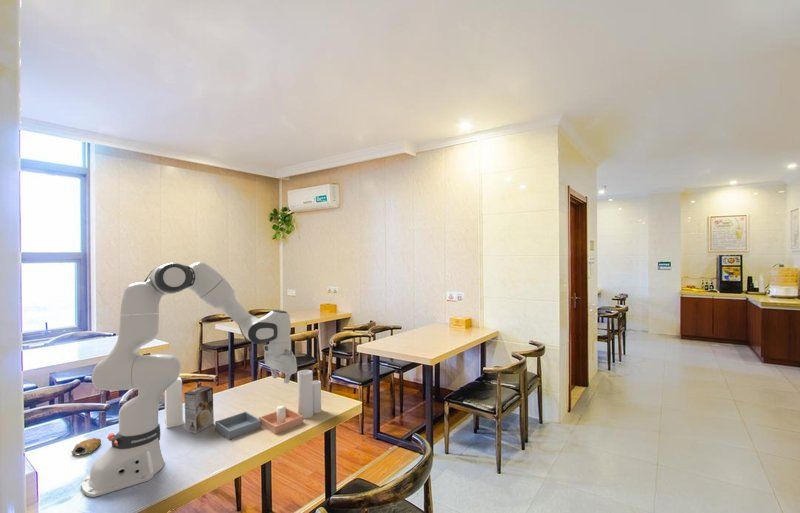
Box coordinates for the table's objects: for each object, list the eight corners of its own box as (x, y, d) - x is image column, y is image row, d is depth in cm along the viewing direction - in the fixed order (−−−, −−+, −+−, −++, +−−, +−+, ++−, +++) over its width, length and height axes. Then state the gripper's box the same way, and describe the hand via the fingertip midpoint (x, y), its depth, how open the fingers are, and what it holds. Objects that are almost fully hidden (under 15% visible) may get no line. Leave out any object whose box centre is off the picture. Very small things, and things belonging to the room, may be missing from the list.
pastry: (88, 443, 150) (88, 433, 150) (106, 442, 150) (106, 433, 150) (69, 456, 140) (69, 446, 140) (89, 455, 141) (89, 445, 141)
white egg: (279, 426, 161) (279, 409, 161) (275, 423, 164) (275, 407, 164) (287, 423, 164) (287, 407, 164) (282, 421, 167) (282, 405, 166)
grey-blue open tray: (229, 440, 151) (229, 431, 151) (215, 429, 160) (215, 421, 160) (261, 428, 161) (260, 420, 161) (246, 419, 170) (245, 411, 170)
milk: (166, 428, 162) (165, 376, 161) (165, 423, 166) (163, 372, 166) (183, 424, 165) (181, 373, 165) (181, 419, 170) (179, 369, 170)
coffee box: (202, 421, 168) (201, 385, 167) (214, 423, 166) (213, 386, 165) (184, 431, 159) (183, 392, 159) (196, 433, 157) (195, 394, 157)
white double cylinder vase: (306, 420, 168) (305, 375, 167) (294, 417, 171) (293, 372, 171) (323, 411, 178) (322, 368, 177) (311, 408, 181) (311, 366, 181)
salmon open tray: (275, 435, 155) (275, 426, 155) (259, 425, 164) (258, 417, 163) (303, 424, 165) (303, 416, 164) (286, 415, 173) (286, 407, 173)
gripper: (300, 350, 159) (301, 383, 159) (274, 342, 173) (275, 373, 173) (287, 353, 154) (287, 388, 154) (261, 345, 168) (261, 377, 168)
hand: (280, 380), depth 164 cm, fingers open, 8 cm apart
